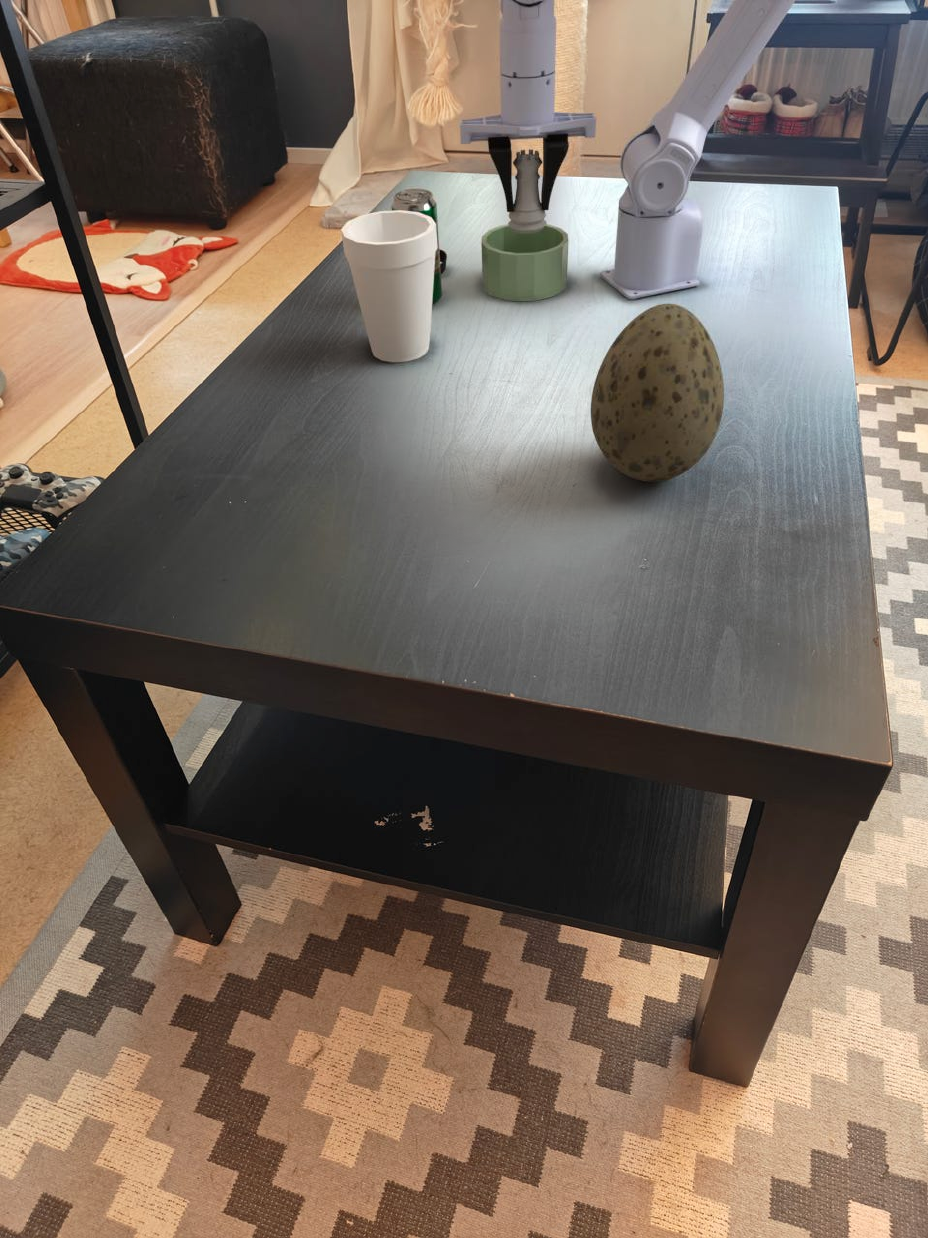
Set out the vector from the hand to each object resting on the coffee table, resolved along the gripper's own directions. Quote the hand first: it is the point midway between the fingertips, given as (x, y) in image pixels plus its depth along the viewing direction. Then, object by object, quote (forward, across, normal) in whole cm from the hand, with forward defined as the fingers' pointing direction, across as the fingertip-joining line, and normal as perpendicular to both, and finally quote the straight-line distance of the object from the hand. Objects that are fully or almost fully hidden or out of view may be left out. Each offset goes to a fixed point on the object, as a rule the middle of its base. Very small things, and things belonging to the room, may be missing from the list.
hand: (527, 208), depth 102 cm
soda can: (+9, -13, -2) cm, 16 cm away
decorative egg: (+9, +8, -40) cm, 42 cm away
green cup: (+9, 0, +1) cm, 9 cm away
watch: (+9, -13, +5) cm, 17 cm away
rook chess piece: (+2, 0, 0) cm, 2 cm away
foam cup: (+9, -15, -15) cm, 23 cm away
